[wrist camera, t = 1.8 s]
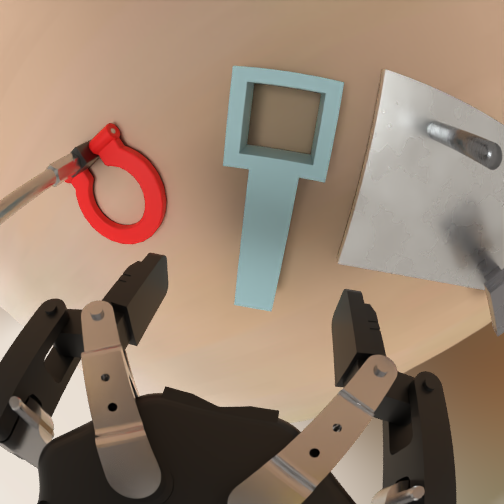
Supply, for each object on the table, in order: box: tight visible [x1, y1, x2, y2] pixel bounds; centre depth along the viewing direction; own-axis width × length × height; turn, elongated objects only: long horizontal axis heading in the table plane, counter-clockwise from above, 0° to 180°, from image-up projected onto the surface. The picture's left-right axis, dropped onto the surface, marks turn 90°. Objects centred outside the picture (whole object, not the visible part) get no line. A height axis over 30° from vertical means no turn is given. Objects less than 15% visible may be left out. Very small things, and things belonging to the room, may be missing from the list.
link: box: [223, 66, 344, 311], centre depth 19 cm, size 17×6×3 cm, turn 173°
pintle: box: [427, 121, 502, 170], centre depth 12 cm, size 1×1×7 cm
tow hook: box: [0, 123, 166, 244], centre depth 16 cm, size 9×14×10 cm
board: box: [337, 69, 504, 290], centre depth 17 cm, size 15×18×1 cm
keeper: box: [484, 266, 504, 336], centre depth 17 cm, size 7×5×6 cm
